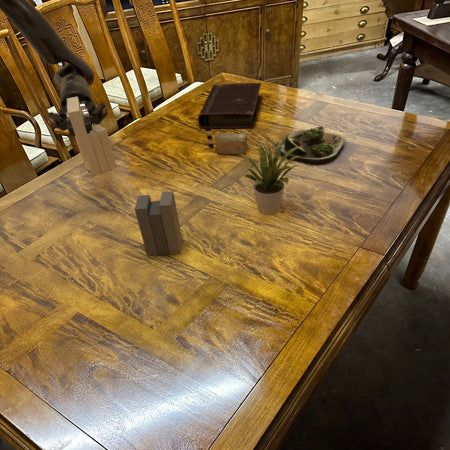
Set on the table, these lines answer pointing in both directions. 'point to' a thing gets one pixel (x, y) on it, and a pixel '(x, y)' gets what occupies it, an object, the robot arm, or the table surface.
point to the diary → (231, 106)
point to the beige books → (100, 152)
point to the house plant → (270, 178)
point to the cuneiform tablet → (228, 142)
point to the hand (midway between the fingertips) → (80, 130)
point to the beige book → (80, 128)
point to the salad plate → (312, 146)
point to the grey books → (159, 224)
